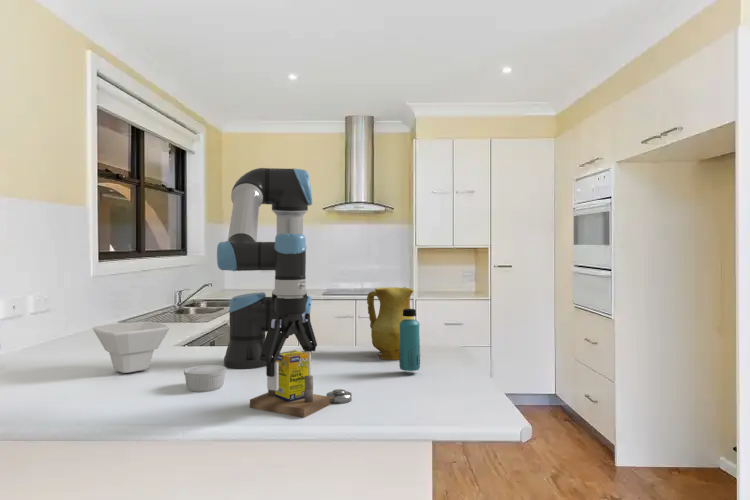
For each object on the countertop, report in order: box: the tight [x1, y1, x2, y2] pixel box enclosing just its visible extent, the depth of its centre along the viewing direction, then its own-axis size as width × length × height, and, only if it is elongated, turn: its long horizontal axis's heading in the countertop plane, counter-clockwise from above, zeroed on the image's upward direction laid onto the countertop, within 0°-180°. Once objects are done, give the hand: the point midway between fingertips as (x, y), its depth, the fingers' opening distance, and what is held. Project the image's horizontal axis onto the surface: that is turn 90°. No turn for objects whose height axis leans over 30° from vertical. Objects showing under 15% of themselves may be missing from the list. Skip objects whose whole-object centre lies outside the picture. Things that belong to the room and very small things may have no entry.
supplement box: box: [275, 350, 308, 402], centre depth 130 cm, size 6×6×11 cm
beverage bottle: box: [398, 308, 421, 372], centre depth 162 cm, size 6×7×20 cm
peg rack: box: [249, 374, 331, 418], centre depth 129 cm, size 16×11×8 cm
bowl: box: [92, 321, 170, 374], centre depth 164 cm, size 19×19×14 cm
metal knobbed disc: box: [326, 388, 353, 405], centre depth 135 cm, size 6×6×2 cm
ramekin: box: [183, 364, 227, 393], centre depth 146 cm, size 11×11×5 cm
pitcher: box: [366, 286, 414, 361], centre depth 188 cm, size 17×19×25 cm
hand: (290, 383), depth 129 cm, fingers open, 13 cm apart
